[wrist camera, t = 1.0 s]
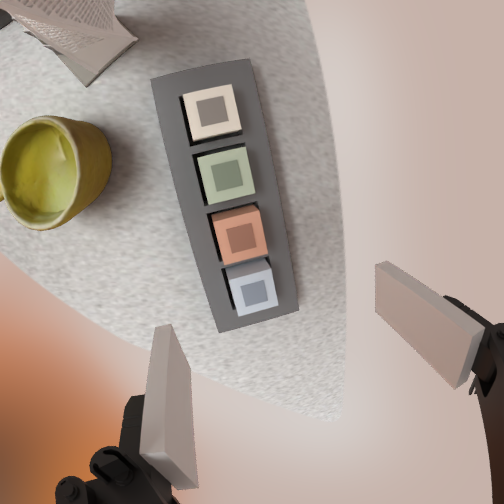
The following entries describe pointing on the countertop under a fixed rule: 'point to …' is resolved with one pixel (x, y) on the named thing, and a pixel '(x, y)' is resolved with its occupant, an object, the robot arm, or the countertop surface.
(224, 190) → the key sage
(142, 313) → the countertop surface
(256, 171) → the keyguard frame
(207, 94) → the key ivory
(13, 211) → the mug
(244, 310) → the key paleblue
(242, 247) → the key terracotta
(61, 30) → the skyscraper
